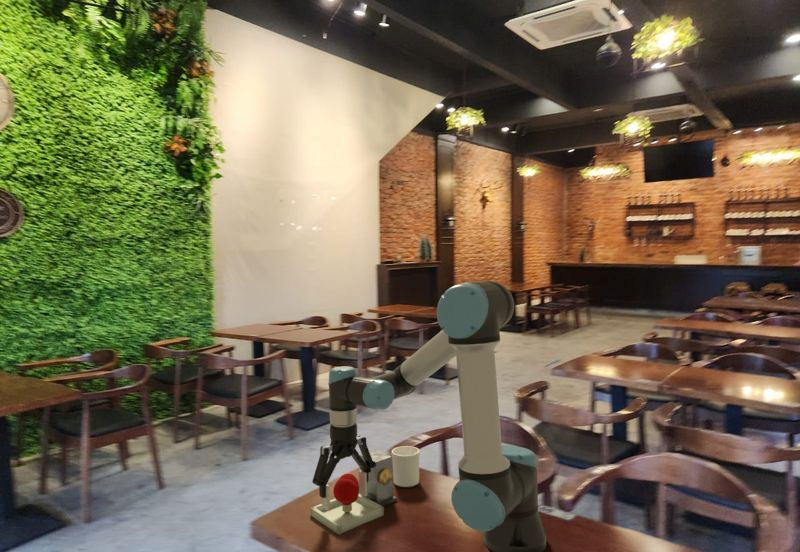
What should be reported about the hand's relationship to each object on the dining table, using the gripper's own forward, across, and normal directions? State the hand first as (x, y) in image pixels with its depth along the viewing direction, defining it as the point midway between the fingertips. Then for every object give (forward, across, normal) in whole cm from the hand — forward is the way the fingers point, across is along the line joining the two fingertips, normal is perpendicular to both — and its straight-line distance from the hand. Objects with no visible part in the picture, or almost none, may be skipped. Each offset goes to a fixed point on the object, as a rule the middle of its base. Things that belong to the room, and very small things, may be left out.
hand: (345, 501), depth 142 cm
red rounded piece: (+4, -1, 0) cm, 4 cm away
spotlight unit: (+4, -13, -2) cm, 13 cm away
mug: (+4, -27, -5) cm, 28 cm away
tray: (+4, -1, 0) cm, 4 cm away
